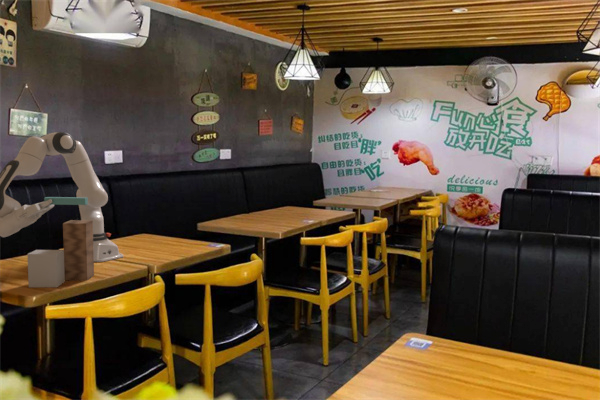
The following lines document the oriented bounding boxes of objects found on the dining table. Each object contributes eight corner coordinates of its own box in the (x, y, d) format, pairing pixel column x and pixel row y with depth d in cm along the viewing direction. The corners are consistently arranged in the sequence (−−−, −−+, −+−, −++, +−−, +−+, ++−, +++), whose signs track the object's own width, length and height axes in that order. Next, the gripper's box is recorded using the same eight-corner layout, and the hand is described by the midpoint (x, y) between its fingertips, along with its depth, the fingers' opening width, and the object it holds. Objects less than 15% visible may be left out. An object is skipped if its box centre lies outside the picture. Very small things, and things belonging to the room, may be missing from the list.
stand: (64, 280, 252) (62, 223, 249) (72, 275, 261) (70, 220, 259) (87, 280, 252) (85, 223, 249) (94, 275, 262) (92, 220, 259)
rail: (44, 204, 250) (44, 197, 250) (47, 203, 254) (47, 196, 254) (85, 204, 252) (85, 198, 251) (87, 204, 255) (87, 197, 255)
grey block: (28, 287, 239) (27, 254, 238) (37, 281, 248) (36, 249, 247) (57, 287, 240) (56, 254, 239) (64, 281, 249) (63, 249, 248)
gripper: (13, 211, 241) (41, 196, 241) (32, 206, 262) (58, 191, 262) (21, 224, 242) (49, 208, 242) (40, 217, 263) (65, 203, 263)
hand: (54, 199), depth 252 cm, fingers closed on rail, 3 cm apart
